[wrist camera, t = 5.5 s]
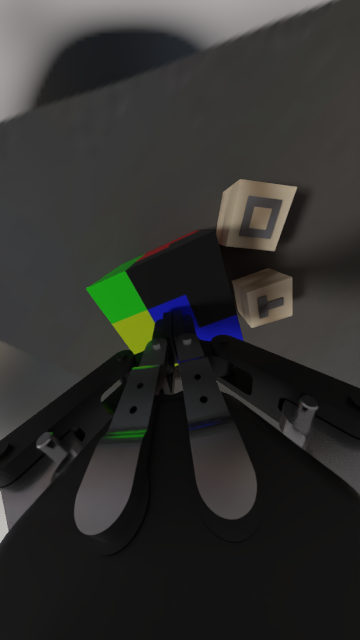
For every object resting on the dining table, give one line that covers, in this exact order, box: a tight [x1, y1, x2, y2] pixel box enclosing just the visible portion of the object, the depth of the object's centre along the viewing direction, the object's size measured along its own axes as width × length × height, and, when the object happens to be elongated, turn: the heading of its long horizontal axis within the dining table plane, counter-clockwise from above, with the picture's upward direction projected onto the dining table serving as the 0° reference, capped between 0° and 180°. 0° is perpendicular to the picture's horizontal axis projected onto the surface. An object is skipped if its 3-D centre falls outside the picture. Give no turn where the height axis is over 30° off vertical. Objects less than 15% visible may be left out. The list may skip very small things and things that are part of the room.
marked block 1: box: [216, 179, 297, 251], centre depth 16 cm, size 5×5×5 cm
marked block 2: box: [232, 268, 292, 328], centre depth 21 cm, size 5×5×5 cm
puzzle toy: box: [86, 230, 243, 366], centre depth 18 cm, size 10×10×10 cm
